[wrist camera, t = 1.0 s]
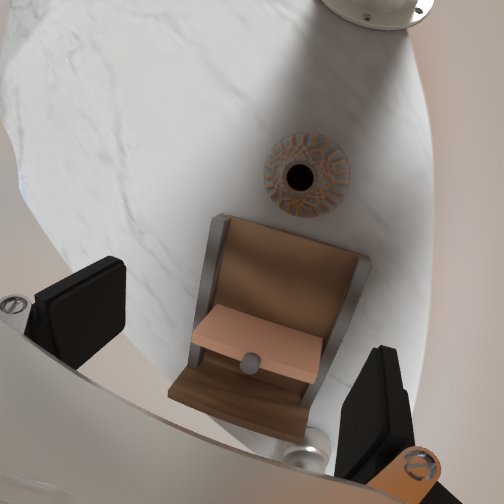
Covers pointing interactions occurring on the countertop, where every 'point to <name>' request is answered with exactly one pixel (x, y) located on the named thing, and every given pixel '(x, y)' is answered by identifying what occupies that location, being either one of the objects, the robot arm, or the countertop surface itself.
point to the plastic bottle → (308, 451)
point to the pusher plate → (260, 344)
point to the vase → (306, 175)
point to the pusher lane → (271, 309)
